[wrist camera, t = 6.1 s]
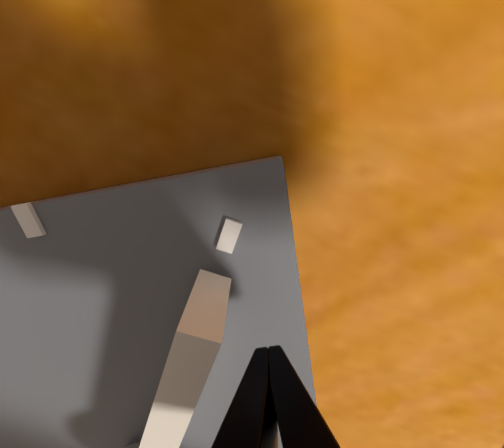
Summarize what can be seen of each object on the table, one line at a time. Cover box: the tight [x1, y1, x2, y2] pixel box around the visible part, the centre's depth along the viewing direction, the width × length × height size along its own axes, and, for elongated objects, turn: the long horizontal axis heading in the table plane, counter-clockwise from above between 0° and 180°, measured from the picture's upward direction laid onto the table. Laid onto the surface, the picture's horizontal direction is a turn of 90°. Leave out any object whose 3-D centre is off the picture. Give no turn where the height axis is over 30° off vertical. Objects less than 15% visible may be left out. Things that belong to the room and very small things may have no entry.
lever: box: [126, 269, 231, 448], centre depth 10 cm, size 14×3×3 cm, turn 160°
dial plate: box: [0, 155, 317, 448], centre depth 12 cm, size 17×19×1 cm
